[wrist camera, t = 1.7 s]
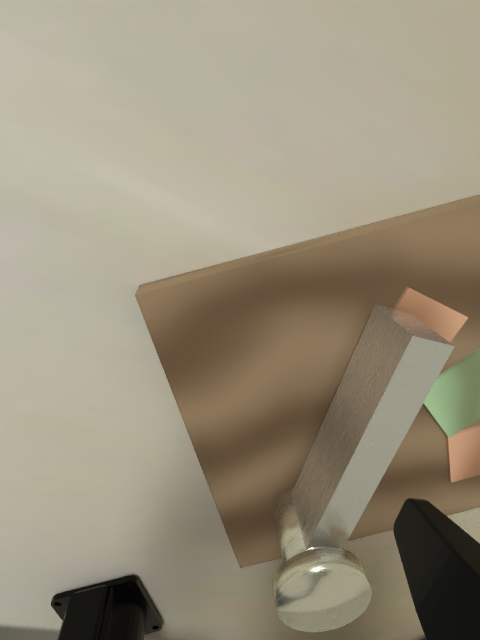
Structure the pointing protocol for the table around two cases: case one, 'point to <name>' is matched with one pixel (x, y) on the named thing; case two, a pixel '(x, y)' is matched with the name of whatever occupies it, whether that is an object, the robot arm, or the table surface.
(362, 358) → the bar with metal cap
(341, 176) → the table surface
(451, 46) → the table surface
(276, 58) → the table surface
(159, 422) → the table surface
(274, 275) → the brown cutting board
